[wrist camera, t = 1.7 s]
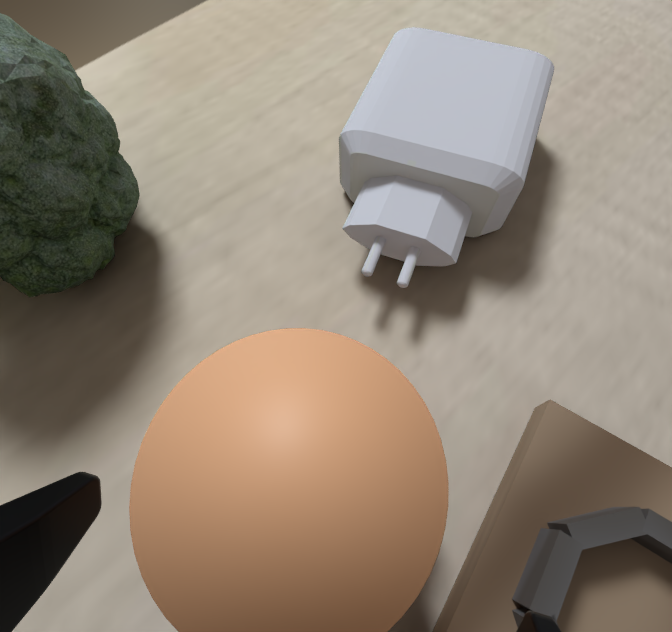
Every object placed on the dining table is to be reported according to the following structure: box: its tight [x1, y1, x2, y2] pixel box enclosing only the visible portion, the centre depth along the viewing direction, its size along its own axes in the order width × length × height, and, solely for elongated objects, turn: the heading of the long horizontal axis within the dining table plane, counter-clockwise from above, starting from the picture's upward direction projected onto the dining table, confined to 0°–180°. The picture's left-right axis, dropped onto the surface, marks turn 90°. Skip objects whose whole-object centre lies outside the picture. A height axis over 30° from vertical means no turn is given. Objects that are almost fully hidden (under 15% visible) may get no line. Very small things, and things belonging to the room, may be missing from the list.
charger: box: [339, 27, 554, 288], centre depth 22 cm, size 5×9×15 cm
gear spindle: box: [129, 328, 448, 632], centre depth 11 cm, size 7×7×13 cm
